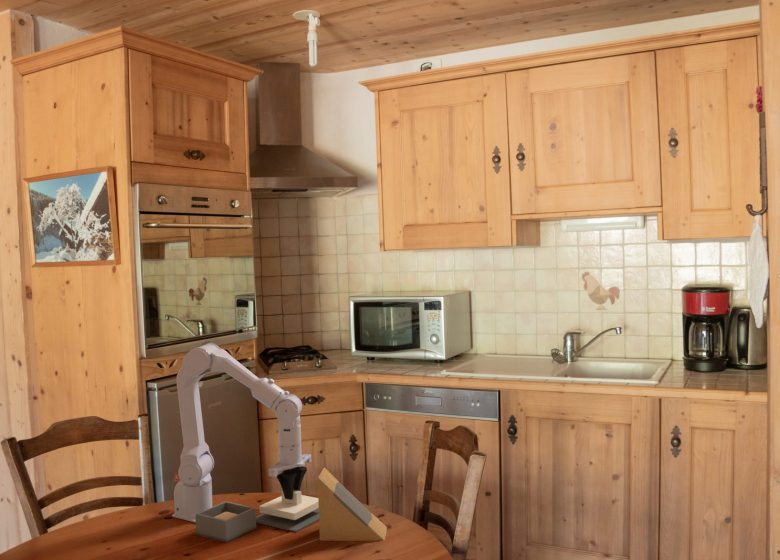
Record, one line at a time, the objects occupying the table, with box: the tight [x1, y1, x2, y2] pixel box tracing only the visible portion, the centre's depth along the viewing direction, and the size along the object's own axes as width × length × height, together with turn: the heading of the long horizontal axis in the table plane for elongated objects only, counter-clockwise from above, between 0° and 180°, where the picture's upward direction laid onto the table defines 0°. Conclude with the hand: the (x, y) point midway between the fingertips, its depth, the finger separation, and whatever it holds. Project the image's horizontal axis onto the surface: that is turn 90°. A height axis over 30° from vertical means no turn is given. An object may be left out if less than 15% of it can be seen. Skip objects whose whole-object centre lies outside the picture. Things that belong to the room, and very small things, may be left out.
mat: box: [256, 508, 319, 533], centre depth 178 cm, size 15×15×1 cm
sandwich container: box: [317, 467, 388, 542], centre depth 166 cm, size 9×15×15 cm, turn 86°
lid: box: [258, 489, 319, 520], centre depth 178 cm, size 11×11×5 cm
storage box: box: [195, 500, 257, 543], centre depth 170 cm, size 10×10×5 cm
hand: (291, 497), depth 178 cm, fingers closed on lid, 2 cm apart
